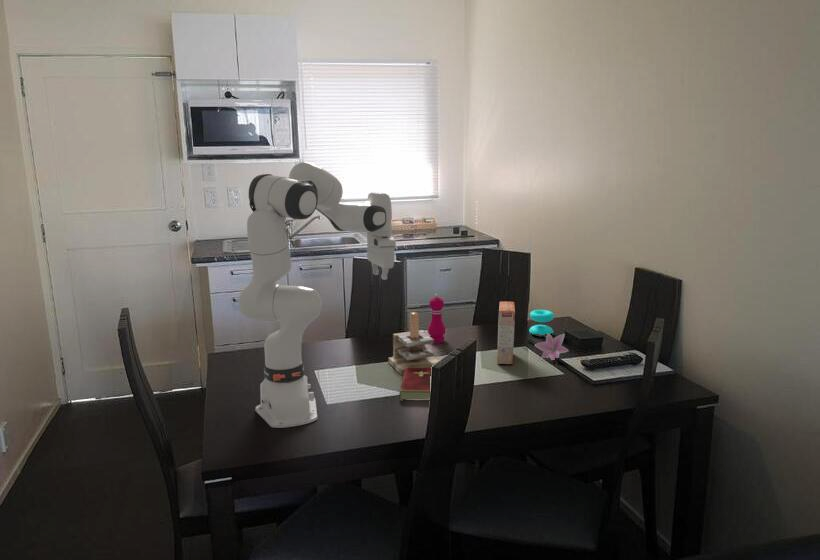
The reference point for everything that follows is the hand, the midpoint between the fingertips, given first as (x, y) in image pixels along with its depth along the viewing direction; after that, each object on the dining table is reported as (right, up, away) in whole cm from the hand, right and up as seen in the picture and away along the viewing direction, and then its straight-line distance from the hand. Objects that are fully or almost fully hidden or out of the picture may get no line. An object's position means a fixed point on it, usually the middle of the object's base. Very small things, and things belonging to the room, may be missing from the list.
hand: (380, 276), depth 225 cm
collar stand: (+13, -33, +7) cm, 36 cm away
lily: (+64, -31, +12) cm, 72 cm away
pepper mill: (+22, -26, +34) cm, 49 cm away
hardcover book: (+14, -38, -14) cm, 43 cm away
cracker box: (+47, -31, +13) cm, 58 cm away
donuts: (+66, -25, +41) cm, 82 cm away
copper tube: (+13, -31, +6) cm, 34 cm away
